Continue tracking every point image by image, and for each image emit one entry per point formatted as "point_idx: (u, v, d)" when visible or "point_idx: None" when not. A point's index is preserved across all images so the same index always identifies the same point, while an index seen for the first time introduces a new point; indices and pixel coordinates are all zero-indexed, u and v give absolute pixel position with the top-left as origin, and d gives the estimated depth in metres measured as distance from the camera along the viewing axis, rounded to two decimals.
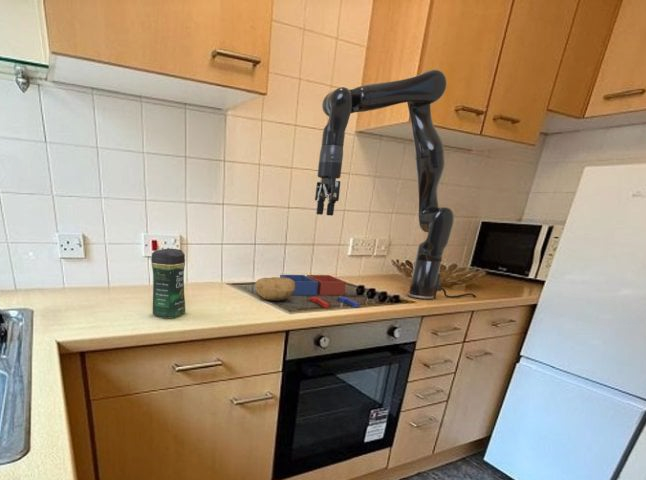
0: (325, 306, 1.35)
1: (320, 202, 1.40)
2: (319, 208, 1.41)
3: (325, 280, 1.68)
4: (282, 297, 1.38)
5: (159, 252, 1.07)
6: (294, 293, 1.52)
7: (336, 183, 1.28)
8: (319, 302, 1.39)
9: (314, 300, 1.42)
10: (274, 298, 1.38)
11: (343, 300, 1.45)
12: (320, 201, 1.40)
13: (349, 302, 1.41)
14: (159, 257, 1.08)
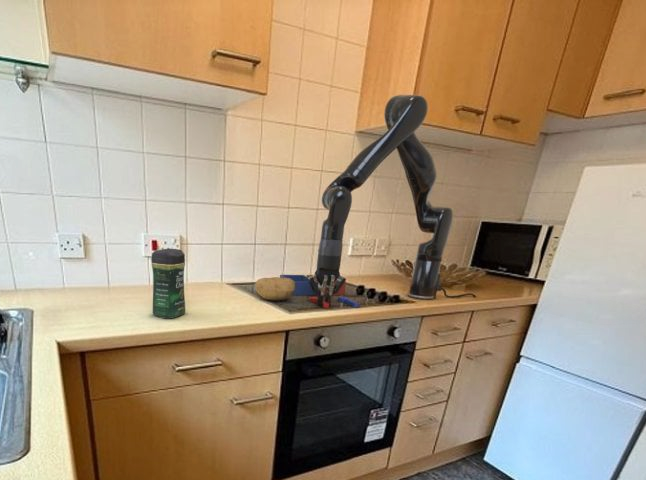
0: (325, 306, 1.35)
1: (326, 294, 1.37)
2: (325, 300, 1.38)
3: None
4: (282, 297, 1.38)
5: (159, 252, 1.07)
6: (294, 293, 1.52)
7: (309, 280, 1.33)
8: None
9: (314, 300, 1.42)
10: (274, 298, 1.38)
11: (343, 300, 1.45)
12: (327, 292, 1.36)
13: (349, 302, 1.41)
14: (159, 257, 1.08)
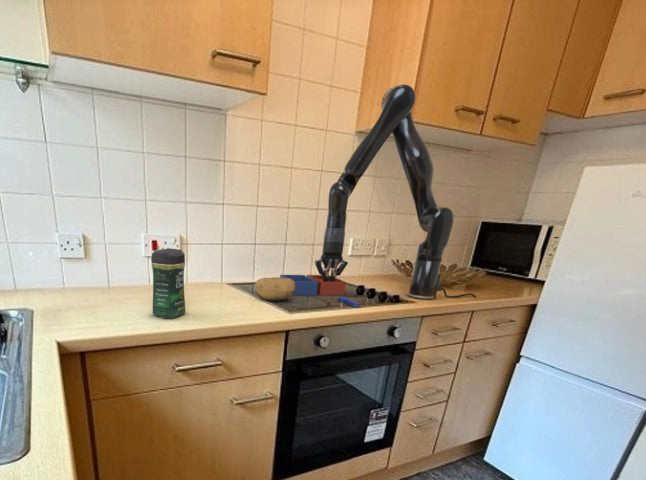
0: None
1: (331, 276, 1.57)
2: (330, 281, 1.58)
3: None
4: (282, 297, 1.38)
5: (159, 252, 1.07)
6: (294, 293, 1.52)
7: (315, 263, 1.54)
8: None
9: None
10: (274, 298, 1.38)
11: (343, 300, 1.45)
12: (331, 274, 1.57)
13: (349, 302, 1.41)
14: (159, 257, 1.08)
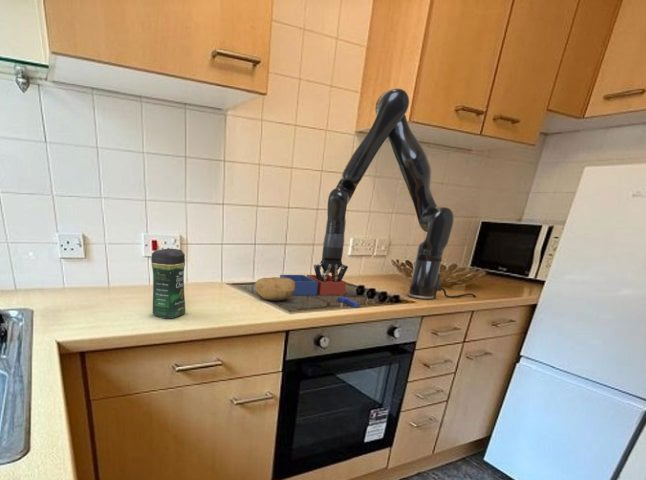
0: None
1: (332, 281, 1.58)
2: None
3: None
4: (282, 297, 1.38)
5: (159, 252, 1.07)
6: (294, 293, 1.52)
7: (315, 267, 1.54)
8: None
9: None
10: (274, 298, 1.38)
11: (343, 300, 1.45)
12: (332, 279, 1.58)
13: (349, 302, 1.41)
14: (159, 257, 1.08)
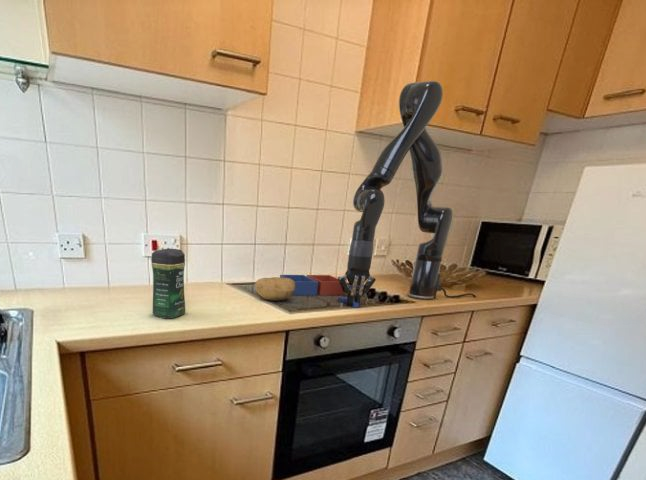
0: None
1: (356, 294, 1.39)
2: (355, 299, 1.40)
3: (325, 280, 1.68)
4: (282, 297, 1.38)
5: (159, 252, 1.07)
6: (294, 293, 1.52)
7: (339, 280, 1.36)
8: None
9: None
10: (274, 298, 1.38)
11: (343, 300, 1.45)
12: (356, 292, 1.39)
13: None
14: (159, 257, 1.08)
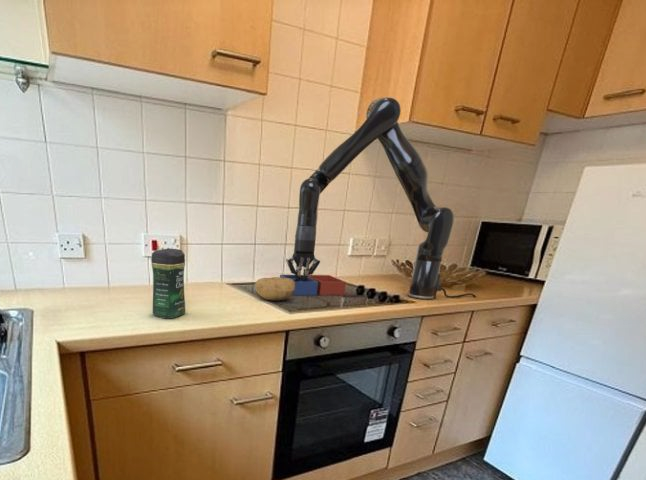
0: None
1: (303, 275, 1.55)
2: (302, 280, 1.55)
3: (325, 280, 1.68)
4: (282, 297, 1.38)
5: (159, 252, 1.07)
6: (294, 293, 1.52)
7: (287, 262, 1.51)
8: None
9: None
10: (274, 298, 1.38)
11: None
12: (303, 273, 1.54)
13: None
14: (159, 257, 1.08)
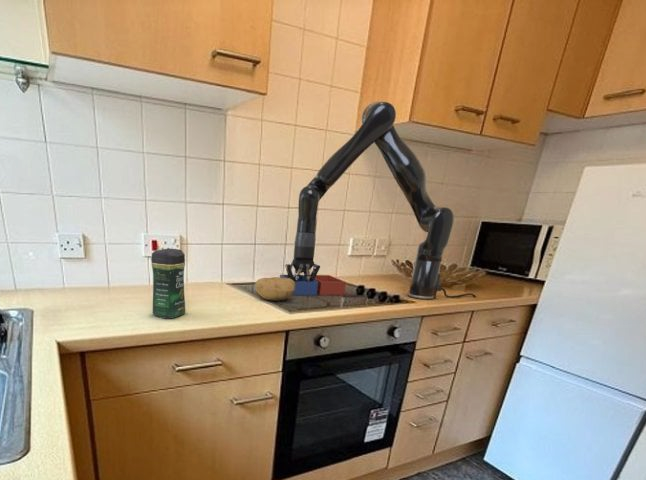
0: None
1: (305, 280, 1.56)
2: None
3: (325, 280, 1.68)
4: (282, 297, 1.38)
5: (159, 252, 1.07)
6: (294, 293, 1.52)
7: (286, 267, 1.52)
8: None
9: None
10: (274, 298, 1.38)
11: None
12: (305, 279, 1.55)
13: None
14: (159, 257, 1.08)
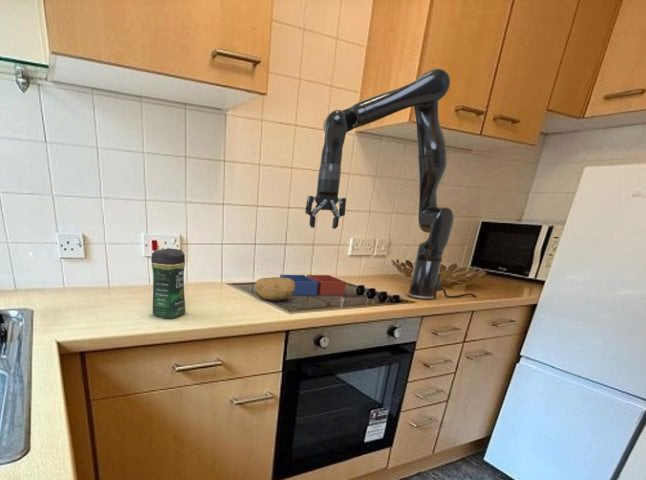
0: None
1: (334, 217, 1.46)
2: (333, 222, 1.47)
3: (325, 280, 1.68)
4: (282, 297, 1.38)
5: (159, 252, 1.07)
6: (294, 293, 1.52)
7: (308, 198, 1.41)
8: None
9: None
10: (274, 298, 1.38)
11: None
12: (334, 216, 1.46)
13: None
14: (159, 257, 1.08)
